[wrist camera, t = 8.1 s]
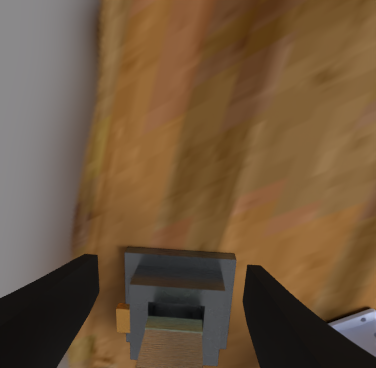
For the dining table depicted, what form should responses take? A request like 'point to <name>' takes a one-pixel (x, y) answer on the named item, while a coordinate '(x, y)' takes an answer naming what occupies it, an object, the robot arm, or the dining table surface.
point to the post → (171, 343)
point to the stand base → (177, 294)
